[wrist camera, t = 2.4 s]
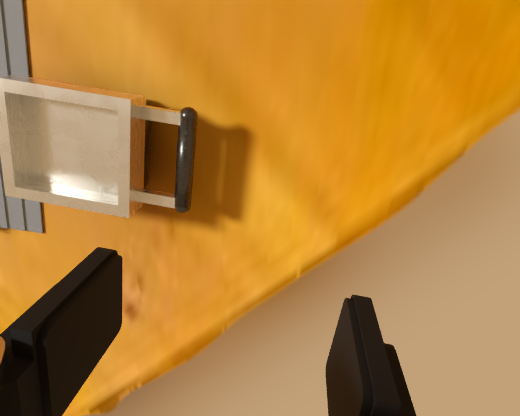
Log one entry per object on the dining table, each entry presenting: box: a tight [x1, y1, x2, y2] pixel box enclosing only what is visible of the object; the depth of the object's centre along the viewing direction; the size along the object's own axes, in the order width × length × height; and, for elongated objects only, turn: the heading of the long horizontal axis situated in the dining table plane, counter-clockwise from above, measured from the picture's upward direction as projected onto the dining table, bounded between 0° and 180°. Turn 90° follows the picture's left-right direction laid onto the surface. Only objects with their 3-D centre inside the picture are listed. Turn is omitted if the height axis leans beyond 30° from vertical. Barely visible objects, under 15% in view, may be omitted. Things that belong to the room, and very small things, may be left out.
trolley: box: [0, 75, 198, 218], centre depth 27 cm, size 13×8×5 cm, turn 82°
